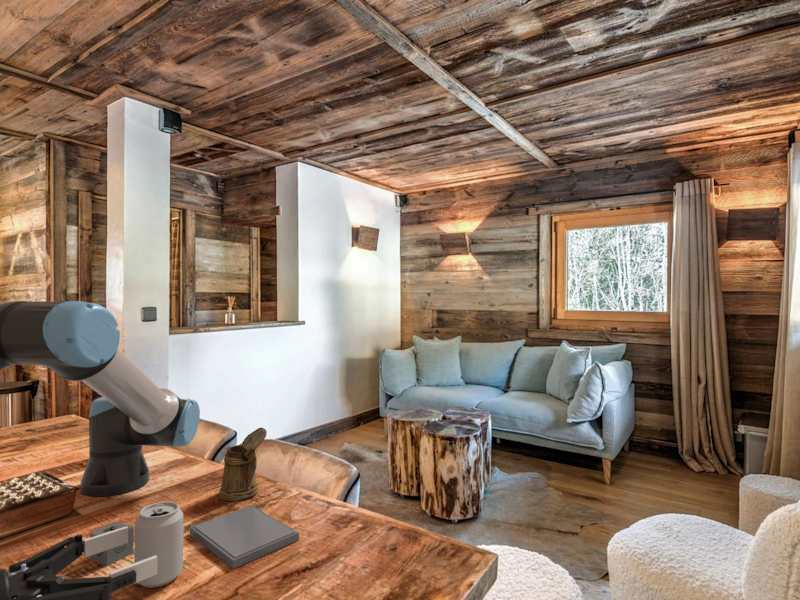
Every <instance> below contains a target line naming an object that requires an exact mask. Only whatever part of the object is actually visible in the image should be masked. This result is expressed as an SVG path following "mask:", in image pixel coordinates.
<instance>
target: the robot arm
mask: <svg viewBox="0 0 800 600" xmlns="http://www.w3.org/2000/svg"><path fill="white" fill-rule="evenodd" d="M118 326H119V324H118V322H117V319H116V318H115V316H114V314H113V313H112V312H111V311H109V309H108V308H106V307H104V306H102V305H101V304H98V303H93V302H86V301H82V300H69V301H67V300H66V301H64V300H63V301H59V300H58V301H29V300H27V301H26V300H13V301H9V302H5V303H1V304H0V372H1V371H3V370H5V369H7V368H9V367H12V366H16V365H19V366H23V365H24V366H42V367H46V368H48V369H49V370H51V371H52V372H54V373H55V374H57V375H58V376H59V377H61V378H62V379H64V380H66V381H68V382H69V381H70V382H83V383H84V384H85V385H87V386H88V387H89V388H90V389H92V390H93V391H95V392H96V393H97V394H98V395H99V396H101V397H99V398H95V399H94V400H93V401H92V402H91V403H90V406H89V415H88V436H89V437H88V439H89V440H88V443H89V447H88V450H89V451H88V452H89V455H88V460H87V462H86V463H87V464H86V466H85V469H84V472H83V475H82V477H81V480H80V493H81V494H83V495H86V496H90V497H108V496H117V495H120V494H124V493H129V492H131V491H132V492H133V491H134V490H137V489H139V488H141V487H143V486H144V485H146V484H147V483H148V482H149V481H150V469H149V466H148V464H147V462H146V459H145V456H144V453H143V446H146V447H147V446H149V447H173V448H177V447H187V446H188V445H189V444H190V443H191V442H192V441H193V440H194V438H195V436H196V434H197V431H198V429H199V424H200V417H201V416H200V415H201V411H200V410H201V409H200V405H199V403H198V402H197V400H195V399H190V398H187V399H183V398H180V397H179V396H178V395H177V394H176V393H175V392H174V391H172V390H170V389H168V388H160V387H158V385H156V384H155V383H154V382H153V381H152V380H151V379H150V378H149V377H148V376H147V375H146V374H145V373H144V372H142V370H141V369H139V368H138V367H137V366H136V365H135V364H134V363H133V362H132V361H131V359H129V358H128V357H127V356H126V355H125V354H123V352H121V351H120V349H119V347H120V339H121V336H120V335H121V334H120V333H121V332H120V330H119V329H117V327H118ZM126 543H128V527H127V526H126V527H123V528H120V529H116V530H113V531H110V532H107V533H104V534H100V535H97V536H94V537H91V538H90V537H87V538H85V539H83V534H77V535H74V536H70V537H67V538H66V539H64V540H62V541H60V542H58V543H56V544H54V545H52V546H49V547H48V548H46V549H44V550H41V551H40V552H38V553H36V554H34V555H32V556H29V557H28V558H26V559H23V560H21V561H18V562H15V563H13V564H10V565H9V566H8V571H7V570H6V568H0V600H112V593H113V594H114V592H116V591H119V590H121V589H125V588H126V587H129V586H132V585H134V584H138V583H137V582H139V581H142V580H144V579H147V578H149V577H152V576H154V575H157V574H158V557H157V556H156V555H155V556H152V557H150V558H147V559H144V560H142V561H139V562H136V563H131V564H128V565H125V566H122V567H119V568H118V569H115V570H112V571H110V572H108V573H109V575H108V576H95V577H82V578H81V577H79V578H78V577H77V578H63V576H61V575H58V574H59V573H60V572H61V571H63V570H64V569H66V568H67V567H68V566H69V565H71V564H73V562H75V561H76V560H77V559H79V558H81V557H82V556H83V557H84V558H87V557H90V556H91V555H94V554H97V553H100V552H103V551H106V550H109V549H112V548H115V547H118V546H120V545H123V544H126Z"/></svg>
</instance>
